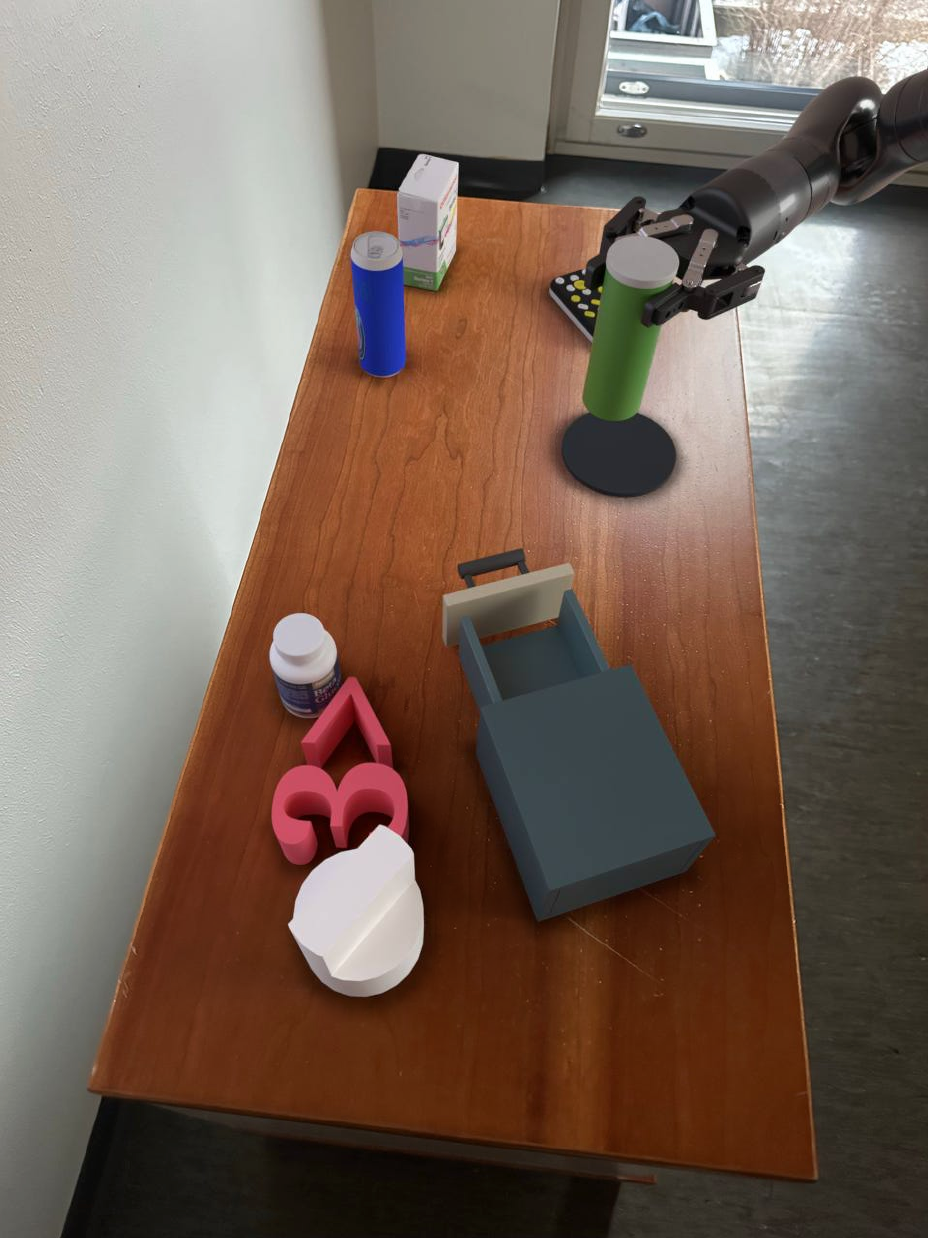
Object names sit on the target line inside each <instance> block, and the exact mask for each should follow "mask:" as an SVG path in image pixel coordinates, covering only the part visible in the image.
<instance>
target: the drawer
mask: <svg viewBox="0 0 928 1238" xmlns="http://www.w3.org/2000/svg"><path fill="white" fill-rule="evenodd" d="M525 553H526V552H525V551H524V549H523V548H522V547H520V548H516V549H512V550H507V551H505V552H504V551H503V552H501V553H495V554H492V555H489V556H485V557H480V558H476V559H473V560H469V561H465V562H461V563H458V564H457V565H456V566H457V573H458V576H459V578H460V579H461V580H464V583H465V585H466V587H467V588H465V589H461V590H457V591H454V592H450V593H446V594H443V595H442V629H441V631H442V632H441V634H442V635H441V637H442V640H443V641H442V642H443V643H444V646H445V648H450V647H453V646H457V645H458V659H459V662H460V664H461V667H462V670H463V673H464V675H465V678H466V680H467V682H468V683H467V684H468V685H469V688H470V691H471V693H472V696H473V698H474V701H475V704H476V707H477V709H478V712H479V713H480V707H482V706H486V705H489V704H493V703H496V702H500V701H503V700H507V699H510V698H514V697H517V696H521V695H524V694H528V693H531V692H535V691H538V690H542V689H545V688H549V687H552V686H556V685H559V684H563V683H566V682H570V681H573V680H577V679H580V678H584V677H587V676H591V675H594V674H598V673H601V672H605V671H608V670H612V669H611V666H610V664H609V662H608V660H607V658H606V656H605V654H604V652H603V650H602V647H601V646H600V643H599V641H598V640H597V637H596V635H595V633H594V631H593V629H592V626H591V625H590V622H589V621H588V618H587V616H586V614H585V612H584V610H583V608H582V606H581V603H580V602H579V600H578V598H577V595H576V594H575V591H574V589H573V588H572V586H573V581H574V577H575V571H574V569H573V567H572V565H571V563H570V562H566V563H562V564H558V565H555V566H550V567H547V568H542V569H539V570H535V571H531V572H530V571H529V569H528V566H527V564H526V561H527V559H526V558H527V557H526V554H525ZM516 566H517V568H518V571H519V573H520V574H519V575H516V576H512V577H508V578H504V579H500V580H497V581H492V582H489V583H485V584H481V585H476V583H475V581H474V578H473V577H477V576H481V575H485V574H489V573H492V572H496V571H500V570H504V569H508V568H513V567H516ZM553 619H557V621H556V625H554V626H550V627H547V628H543V629H539V630H538V629H537V630H536V631H535V630H534V631H532V632H527V633H525V634H520V635H516V636H513V637H509V638H506V639H501V640H498V641H495V642H491V643H488V644H484V645H482V644H481V642H480V640H479V639H483V638H487V637H491V636H494V635H499V634H501V633H502V634H503V633H505V632H509V631H512V630H516V629H517V630H518V629H521V628H525V627H527V626H531V625H536V624H539V623H543V622H546V621H549V620H553Z"/></svg>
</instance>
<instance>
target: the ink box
mask: <svg viewBox="0 0 928 1238" xmlns="http://www.w3.org/2000/svg"><path fill="white" fill-rule="evenodd" d="M459 164H460V163H459V162H458V161H453V160H449V159H445V158H442V157H436V156H433V155H429V154H425V153H420V154H418V155H417V157H416V159H415V160H414V161H413V163H412V165H411V167H410V169H409V170H408V172H407V174H406V176H405V178H404V179H403V181H402V183H401V185H400V187H398V192H397V195H396V202H397V230H398V241H399V244H400V247H401V249H402V252H403V277H404V286H409V287H414V288H419V289H423V290H427V291H428V290H429V291H434V292H437V291H438V290H439V288H440V286H441V284H442V281H443V280H444V277H445V275H446V273H447V272H448V269H449V267H450V264H451V262H452V260H453V258H454V256H455V253H456V252H457V225H458V224H457V223H458V222H457V221H458V194H459V193H458V191H459V188H458V187H459V167H460V165H459Z"/></svg>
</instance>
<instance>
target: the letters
mask: <svg viewBox="0 0 928 1238" xmlns="http://www.w3.org/2000/svg"><path fill="white" fill-rule="evenodd" d="M355 722H356V725H357V727H358V729H359V731H360V733H361V735H362V736H363V737H362V738H363V739H364V741H365V743H366V745H367V747H368V749H369V750H370V753H371V755H372V757H373V759H374V761H375V762H364V763H360V764H358V765H357V764H356V765H355V766H354V767H352V768H351V769H349V770H348V771H347V772H346V774H345V775H344V776H343V778H342V780H340V783H339V786H338V788H337V787H336V785H335V783H334V781H333V779H332V778H331V776H330V775H329V774H328V773H327V772H326V771H325V770H324V769H322V768H323V767H324V765H325V764H326V763H327V761H328V759H329V758H330V757H331V755H332V754H333V753H334V751H335V749H336V748H337V747H338V746H339V744H340V743H341V742H342V740H343V739H344V737H345V735H347V733H348V731H349V730H350V728H351V727H352V726H353V724H354V723H355ZM300 745H301V748H302V751H303V754H304V758H305V761H306V764H304V765H303V764H302V765H298V766H295V767H293V768H291V769H289V770H287V772H286V773H285V774H284V775H283V776H282V777H281V778H280V780H279V782H278V783H277V786H276V788H275V791H274V794H273V799H272V804H271V824H272V829H273V832H274V834H275V837H276V838H277V840H278V843H279V845H280V847H281V849H282V852H283V855H284V856H285V858H286V859H287V860H288V862H290V863H291V864H293V865H296V866H303V865H304V866H305V865H307V864H309V863H310V862H312V861H313V859H314V858H315V856H316V854H317V851H318V846H319V845H318V844H319V842H318V839H317V836H316V833H315V830H314V827H313V824H312V821H311V820H301V819H300V818H301V817H304V816H306V815H307V816H308V815H318V816H323V817H326V818H328V819H330V824H329V826H330V831H331V834H332V837H333V841H334V845H335V848H338V849H339V848H342V849H343V848H348V842H349V841H348V840H349V835H350V834H349V833H350V830H351V827H352V824H353V823H354V822H355V820H356V819H357V818H358V817H359V816H361V815H363V814H365V813H380V814H384V815H386V816H388V817H390V818H391V819H392V820H391V821H390V824H389V825H388V826H386V827H387V828H389V829H390V830H392V831H393V832H395V833H396V834H398V835H400V837H401V838H402V839H403V840H404V841H405V842H406V843H407V844H408V843H409V836H410V819H409V818H410V817H409V802H408V793H407V788H406V786H405V783H404V781H403V779H402V777H401V775H400V774H399V773H398V771H396V770H394V766H393V765H394V763H393V755H392V745H391V743H390V741H389V739H388V737H387V735H386V732H385V731H384V729H383V727H382V725H381V723H380V721H379V719H378V718H377V716H376V713H375V711H374V710H373V708H372V706H371V703H370V702H369V700H368V698H367V696H366V694H365V691H364V690H363V688H362V686H361V684H360V682H359V680H358V679H357V677H356V676H348V677H347V679H346V680H345V681H344V683H342V687H341V688H340V690H339V691H338V692H337V694H336V695H335V697H334V698H333V699H332V701H331V702H330V703H329V705H328V706H327V707H326V709H325V710H324V712H323V713H322V714H321V716H320V717H317V720H316V721H315V722H314V724H313V725H312V726H311V728H310V729H309V731H308V732H307V733H306V734H305V736H304V737H303V738H302V740H301V742H300ZM372 832H373V831H370V832H369V835H368V837H369V836H370V834H371V833H372ZM408 845H409V844H408Z"/></svg>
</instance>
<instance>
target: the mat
mask: <svg viewBox="0 0 928 1238" xmlns="http://www.w3.org/2000/svg"><path fill="white" fill-rule="evenodd" d="M675 446H676V445H675V444H674V441H673V438H672V437H671V436H670V435H669V433H668V432H667V431H666V429H664V427H663V426H661V425H660V424H659V422H656V421H655V420H654V419H652V418H650V417H648V416H646V415H644V414H642V413H639V412H637V413H636V414H635V415H634V416H632V417H630V418H628V419H626V420H621V421H608V420H604V419H601V418H598V417H596V416H594V415H593V414H591V413H590V412H589V411H588V412H587V413H584V414H583V415H581V416H579V417H577V418H576V419H575V420H573V421H572V423H570V424H569V426H568V427H567V429H566V430H565V431H564V434H563V437H562V440H561V448H560V451H561V458H562V462H563V464H564V466H565V468H566V469H567V470H568V472H569V474H570V475H571V476H572V477H573V478H574V479H575V480H576V481H578V483H579V484H581V485H582V486H584V487H585V488H588V489H590V490H592V491H593V492H596V493H599V494H601V495H603V496H604V495H605V496H610V497H615V498H635V497H641V496H644V495H647V494H650V493H653V492H654V491H656V490H658V489H659V488H661V487H663V485H664V484H666V483H667V481H669V479H670V478H671V477H672V474H673V472H674V470H675V467H676V463H677V451H676V447H675Z"/></svg>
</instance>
